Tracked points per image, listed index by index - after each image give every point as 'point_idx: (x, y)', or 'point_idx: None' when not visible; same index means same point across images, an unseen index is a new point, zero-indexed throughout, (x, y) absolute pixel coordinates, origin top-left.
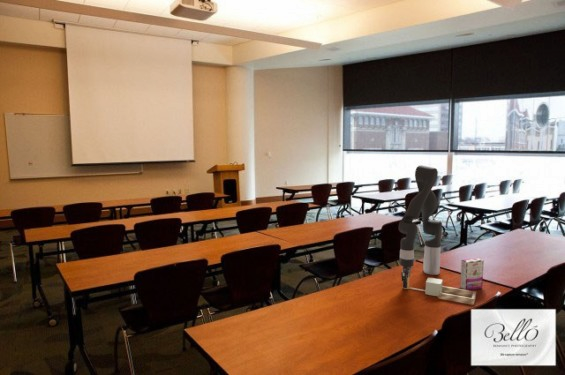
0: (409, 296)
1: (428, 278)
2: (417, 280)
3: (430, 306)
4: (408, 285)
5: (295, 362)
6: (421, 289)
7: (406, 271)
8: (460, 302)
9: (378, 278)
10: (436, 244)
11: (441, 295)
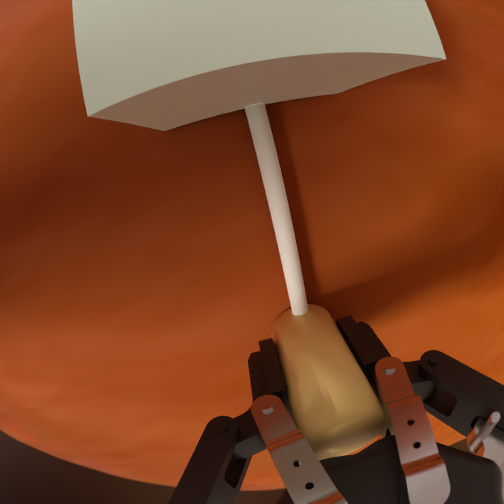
0: (453, 210)
1: (172, 62)
2: (40, 333)
3: (489, 34)
4: (320, 327)
5: None
6: (274, 170)
7: (491, 460)
8: None
9: None
10: None
11: None
